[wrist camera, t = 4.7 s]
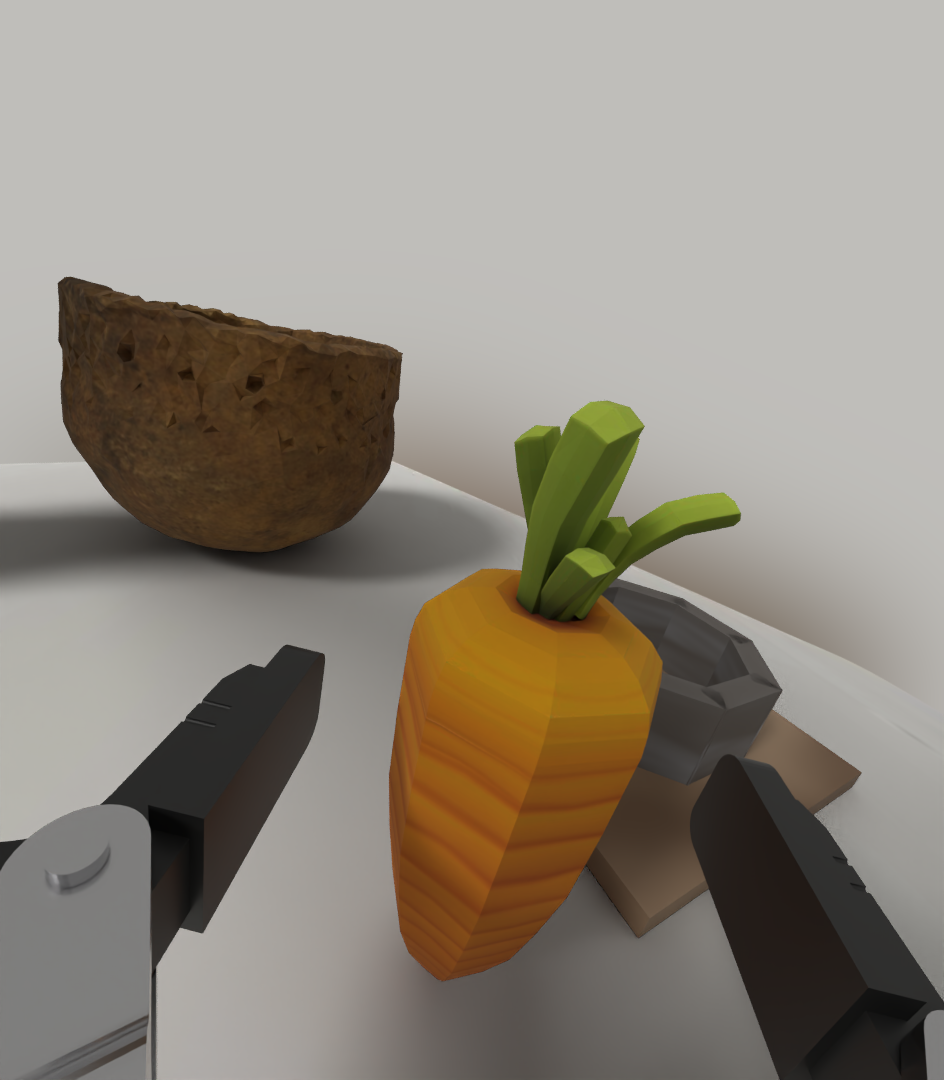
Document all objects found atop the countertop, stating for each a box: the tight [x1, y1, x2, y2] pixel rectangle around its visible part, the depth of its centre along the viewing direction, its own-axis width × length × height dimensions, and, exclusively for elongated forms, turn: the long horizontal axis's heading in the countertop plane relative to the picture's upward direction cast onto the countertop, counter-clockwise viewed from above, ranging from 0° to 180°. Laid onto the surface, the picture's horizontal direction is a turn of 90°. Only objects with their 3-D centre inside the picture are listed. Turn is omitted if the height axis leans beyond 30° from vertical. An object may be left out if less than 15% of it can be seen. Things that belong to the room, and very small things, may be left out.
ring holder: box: [586, 578, 862, 938], centre depth 24 cm, size 16×16×5 cm
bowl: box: [58, 277, 403, 552], centre depth 30 cm, size 19×19×15 cm
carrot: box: [389, 401, 741, 981], centre depth 10 cm, size 5×5×15 cm
